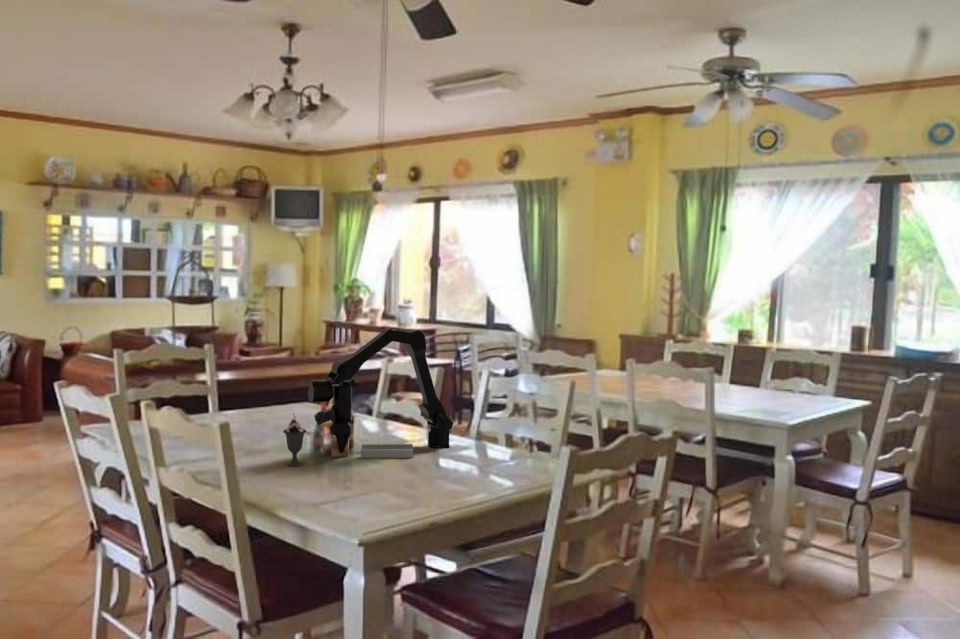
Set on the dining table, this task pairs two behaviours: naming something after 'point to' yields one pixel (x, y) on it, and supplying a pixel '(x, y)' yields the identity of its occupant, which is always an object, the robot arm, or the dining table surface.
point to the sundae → (294, 441)
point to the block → (336, 449)
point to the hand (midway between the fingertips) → (341, 450)
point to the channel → (387, 451)
